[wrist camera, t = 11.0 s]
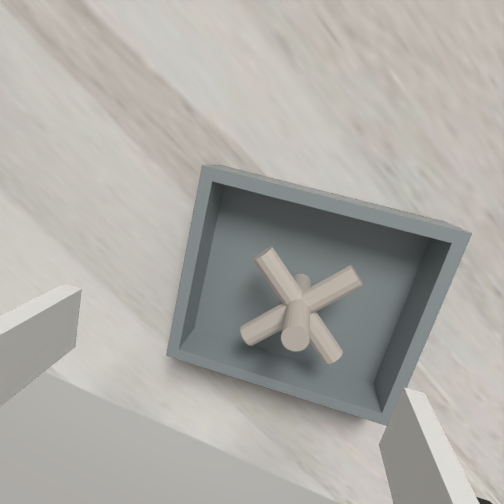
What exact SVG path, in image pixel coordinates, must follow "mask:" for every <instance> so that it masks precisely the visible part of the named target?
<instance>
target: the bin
mask: <svg viewBox="0 0 504 504" xmlns="http://www.w3.org/2000/svg"><path fill="white" fill-rule="evenodd" d="M471 235H472V233H470V232H468V231H465V230H463V229H461V228H458V227H456V226H454V225H452V224H449V223H447V222H444V221H440V220H436V219H432V218H428V217H424V216H420V215H416V214H412V213H408V212H404V211H400V210H396V209H392V208H388V207H384V206H380V205H376V204H372V203H368V202H364V201H360V200H356V199H352V198H348V197H344V196H340V195H336V194H333V193H329V192H325V191H321V190H317V189H313V188H309V187H305V186H301V185H297V184H293V183H289V182H285V181H281V180H277V179H273V178H269V177H265V176H261V175H257V174H253V173H249V172H245V171H241V170H237V169H233V168H229V167H225V166H221V165H202V169H201V174H200V179H199V185H198V190H197V195H196V201H195V206H194V211H193V217H192V222H191V227H190V232H189V238H188V243H187V248H186V254H185V259H184V264H183V270H182V275H181V280H180V286H179V291H178V296H177V301H176V307H175V312H174V317H173V323H172V328H171V333H170V339H169V344H168V349H167V354H166V356H169V357H172V358H175V359H178V360H181V361H184V362H187V363H191V364H194V365H197V366H200V367H203V368H206V369H209V370H213V371H216V372H219V373H222V374H225V375H228V376H232V377H235V378H238V379H241V380H244V381H247V382H250V383H254V384H257V385H260V386H263V387H266V388H269V389H272V390H276V391H279V392H282V393H285V394H288V395H291V396H294V397H298V398H301V399H304V400H307V401H310V402H313V403H316V404H320V405H323V406H326V407H329V408H332V409H335V410H339V411H342V412H345V413H348V414H351V415H354V416H357V417H361V418H364V419H367V420H370V421H373V422H376V423H379V424H383V425H386V426H387V425H388V423H389V420H390V418H391V416H392V414H393V411H394V409H395V407H396V405H397V402H398V400H399V398H400V395H401V393H402V391H403V389H404V387H405V388H407V386H408V383H409V381H410V379H411V376H412V374H413V371H414V369H415V367H416V364H417V362H418V360H419V357H420V355H421V353H422V350H423V348H424V346H425V343H426V341H427V338H428V336H429V334H430V331H431V329H432V327H433V324H434V322H435V320H436V317H437V315H438V313H439V310H440V308H441V305H442V303H443V301H444V298H445V296H446V294H447V291H448V289H449V287H450V284H451V282H452V280H453V277H454V275H455V272H456V270H457V268H458V265H459V263H460V261H461V258H462V256H463V254H464V251H465V249H466V247H467V244H468V242H469V239H470V237H471ZM269 247H273V249H274V250H275V252H276V253H277V255H278V256H279V258H280V259H281V261H282V262H283V263H284V265H285V266H286V268H287V269H288V271H289V272H290V274H291V275H292V277H293V276H295V275H297V274H305V275H307V276H308V277H309V278H310V280H311V287H312V286H314V285H315V284H317V283H319V282H321V281H322V280H324V279H326V278H328V277H330V276H331V275H333V274H335V273H337V272H339V271H340V270H342V269H344V268H346V267H347V266H349V265H351V266H352V267H353V268H354V270H355V271H356V273H357V275H358V276H359V278H360V280H361V282H362V284H363V287H361V288H359V289H357V290H355V291H354V292H352V293H350V294H348V295H346V296H344V297H342V298H340V299H339V300H337V301H335V302H333V303H331V304H329V305H327V306H325V307H324V308H322V309H320V310H318V311H316V312H317V314H318V315H319V317H320V318H321V320H322V321H323V322H324V324H325V325H326V327H327V328H328V330H329V331H330V333H331V334H332V336H333V337H334V339H335V340H336V342H337V343H338V345H339V346H340V348H341V349H342V350H343V353H342V356H341V357H340V358H339V359H338V360H337V361H335V362H334V363H331V364H324V362H323V361H322V359H321V358H320V356H319V355H318V354H317V352H316V351H315V349H314V348H313V346H312V345H311V343H310V342H309V344H308V346H307V347H306V348H305V349H304V350H301V351H291V350H288V349H287V348H286V347H285V346H284V345H283V344H282V341H281V334H282V330H280V331H279V332H277V333H275V334H273V335H271V336H269V337H267V338H265V339H264V340H262V341H260V342H258V343H256V344H254V345H252V346H250V345H248V344H247V343H246V342H245V341H244V339H243V337H242V335H241V331H240V327H241V326H242V325H244V324H246V323H247V322H249V321H251V320H253V319H255V318H256V317H258V316H260V315H262V314H264V313H265V312H267V311H269V310H271V309H272V308H274V307H276V306H278V305H280V304H281V303H282V301H281V300H280V299H279V297H278V296H277V294H276V293H275V291H274V290H273V288H272V287H271V286H270V284H269V283H268V281H267V280H266V278H265V277H264V275H263V274H262V273H261V271H260V270H259V268H258V267H257V265H256V264H255V262H254V261H253V259H254V257H256V256H257V255H258V254H259V253H261V252H262V251H264V250H265V249H267V248H269Z"/></svg>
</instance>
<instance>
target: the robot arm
mask: <svg viewBox="0 0 504 504" xmlns="http://www.w3.org/2000/svg"><path fill="white" fill-rule="evenodd" d="M81 290H82V289H80V288H77V287H73V286H70V285H67V284H63V285H61V286H59V287H57V288H55V289H53V290H51V291H49V292H47V293H45V294H43V295H41V296H39V297H37V298H35V299H33V300H31V301H29V302H27V303H25V304H23V305H21V306H19V307H17V308H15V309H13V310H11V311H9V312H7V313H5V314H3V315H1V316H0V407H1V406H2V405H3V404H4V403H6V402H7V401H8V400H9V399H11V398H12V397H13V396H14V395H16V394H17V393H18V392H19V391H21V390H22V389H23V388H24V387H26V386H27V385H28V384H29V383H30V382H32V381H33V380H34V379H36V378H37V377H38V376H39V375H41V374H42V373H43V372H44V371H46V370H47V369H48V368H49V367H51V366H52V365H53V364H54V363H56V362H57V361H58V360H59V359H61V358H62V357H63V356H64V355H66V354H67V353H68V352H70V351H71V350H72V349H73V348H75V344H76V335H77V326H78V317H79V308H80V299H81ZM379 447H380V451H381V455H382V459H383V463H384V467H385V471H386V475H387V479H388V483H389V487H390V491H391V495H392V499H393V503H394V504H492V503H491V502H490V501H487V500H484V499H481V498H478V497H476V496H475V494H474V492H473V490H472V488H471V486H470V484H469V482H468V480H467V478H466V476H465V474H464V472H463V470H462V468H461V466H460V464H459V462H458V460H457V457H456V455H455V453H454V451H453V449H452V447H451V445H450V443H449V441H448V439H447V437H446V435H445V433H444V431H443V429H442V427H441V425H440V423H439V421H438V419H437V417H436V415H435V413H434V411H433V409H432V407H431V405H430V403H429V401H428V399H427V397H426V395H425V393H421V392H418V391H415V390H411V389H408V388H405V387H404V389H403V391H402V393H401V395H400V398H399V400H398V402H397V405H396V407H395V409H394V411H393V414H392V416H391V418H390V420H389V423H388V425H387V427H386V430H385V432H384V434H383V436H382V439H381V441H380V443H379Z"/></svg>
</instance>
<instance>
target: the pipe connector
mask: <svg viewBox="0 0 504 504" xmlns="http://www.w3.org/2000/svg"><path fill="white" fill-rule="evenodd" d="M253 261H254V262H255V264H256V265H257V267H258V268H259V270H260V271H261V273H262V274H263V275H264V277H265V278H266V280H267V281H268V283H269V284H270V286H271V287H272V288H273V290H274V291H275V293H276V294H277V296H278V297H279V299H280V300H281V301H282V303H281V304H280V305H278V306H276V307H274V308H272V309H271V310H269V311H267V312H265V313H264V314H262V315H260V316H258V317H256V318H255V319H253V320H251V321H249V322H247V323H246V324H244V325H242V326H241V327H240V331H241V335H242V337H243V339H244V341H245V342H246V343H247V344H248V345H250V346H252V345H254V344H256V343H258V342H260V341H262V340H264V339H265V338H267V337H269V336H271V335H273V334H275V333H277V332H279V331H280V330H282V334H281V341H282V344H283V345H284V346H285V347H286V348H287V349H288V350H291V351H301V350H304V349H305V348H306V347H307V346H308V344H309V342H310V343H311V345H312V346H313V348H314V349H315V351H316V352H317V354H318V355H319V356H320V358H321V359H322V361H323V362H324V364H331V363H334V362H335V361H337V360H338V359H339V358H340V357H341V356H342V353H343V350H342V349H341V348H340V346H339V345H338V343H337V342H336V340H335V339H334V337H333V336H332V334H331V333H330V331H329V330H328V328H327V327H326V325H325V324H324V322H323V321H322V320H321V318H320V317H319V315H318V314H317V312H316V311H318V310H320V309H322V308H324V307H325V306H327V305H329V304H331V303H333V302H335V301H337V300H339V299H340V298H342V297H344V296H346V295H348V294H350V293H352V292H354V291H355V290H357V289H359V288H361V287H363V284H362V282H361V280H360V278H359V276H358V275H357V273H356V271H355V270H354V268H353V267H352V266H351V265H349V266H347V267H346V268H344V269H342V270H340V271H339V272H337V273H335V274H333V275H331V276H330V277H328V278H326V279H324V280H322V281H321V282H319V283H317V284H315V285H314V286H312V287H311V280H310V278H309V277H308V276H307V275H305V274H297V275H295V276H293V277H292V275H291V274H290V272H289V271H288V269H287V268H286V266H285V265H284V263H283V262H282V261H281V259H280V258H279V256H278V255H277V253H276V252H275V250H274V249H273V247H269V248H267V249H265V250H264V251H262V252H261V253H259V254H258V255H257V256H256V257H254V259H253Z"/></svg>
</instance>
